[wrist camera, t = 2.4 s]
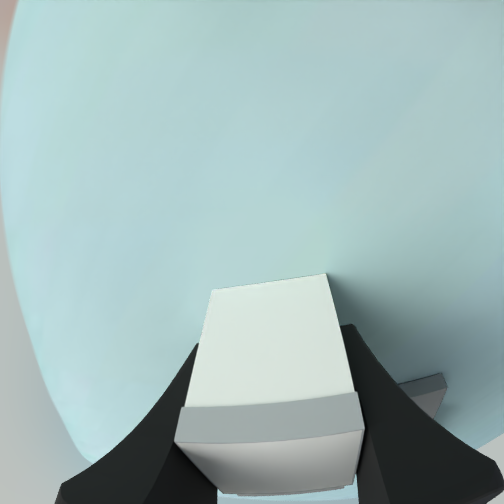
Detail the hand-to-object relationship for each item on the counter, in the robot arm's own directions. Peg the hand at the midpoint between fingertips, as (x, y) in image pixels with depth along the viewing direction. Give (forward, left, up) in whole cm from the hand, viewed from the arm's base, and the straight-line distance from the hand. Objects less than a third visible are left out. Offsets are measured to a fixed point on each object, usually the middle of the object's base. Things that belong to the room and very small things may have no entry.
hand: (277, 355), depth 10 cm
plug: (0, 0, -2) cm, 2 cm away
